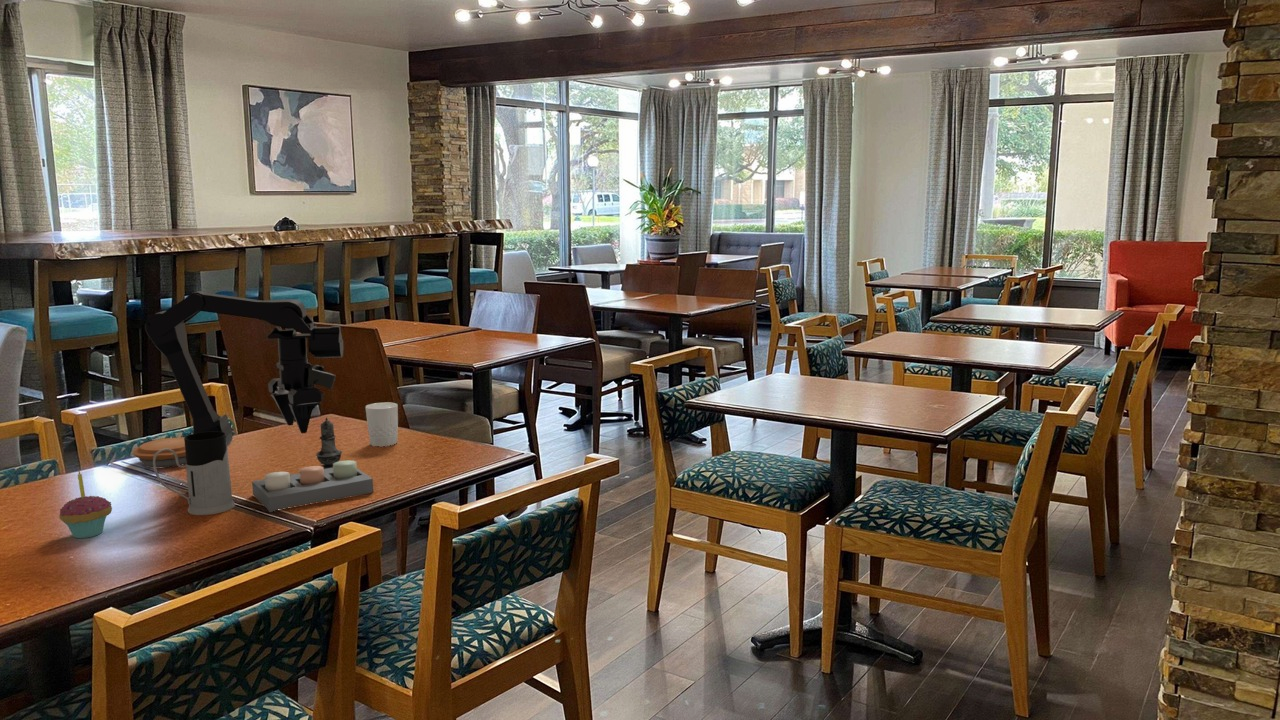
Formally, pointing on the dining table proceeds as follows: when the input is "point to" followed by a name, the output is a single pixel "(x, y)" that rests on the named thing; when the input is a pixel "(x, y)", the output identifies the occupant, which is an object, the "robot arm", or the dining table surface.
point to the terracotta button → (311, 475)
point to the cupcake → (85, 513)
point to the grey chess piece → (328, 446)
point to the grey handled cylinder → (205, 473)
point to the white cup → (382, 423)
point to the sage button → (344, 469)
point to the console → (312, 490)
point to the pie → (164, 457)
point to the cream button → (277, 481)
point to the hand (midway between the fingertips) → (297, 429)
